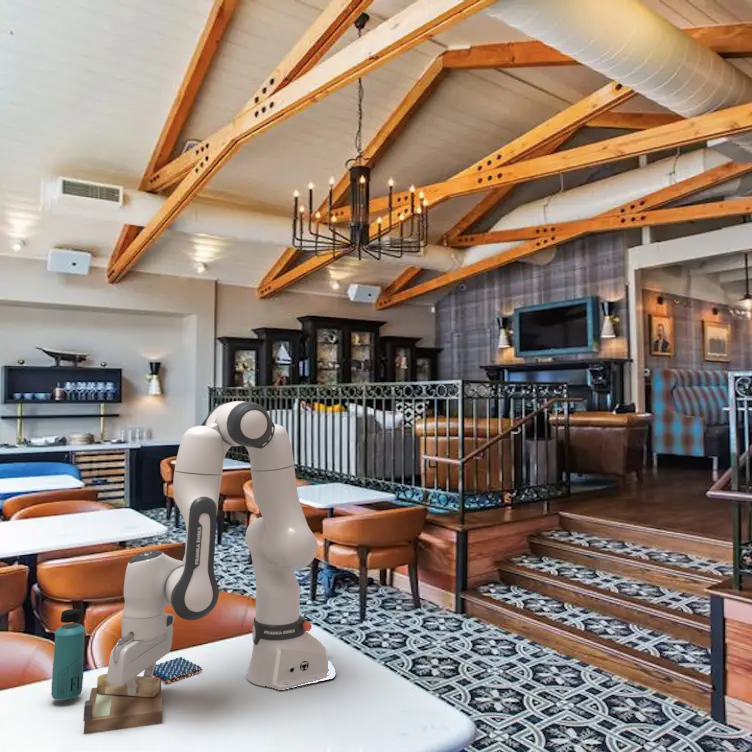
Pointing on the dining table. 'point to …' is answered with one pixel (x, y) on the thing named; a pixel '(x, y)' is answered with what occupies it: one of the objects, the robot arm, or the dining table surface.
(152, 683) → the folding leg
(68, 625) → the beverage bottle
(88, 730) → the brown wooden box
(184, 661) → the woven mat
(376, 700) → the dining table surface
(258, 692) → the dining table surface
